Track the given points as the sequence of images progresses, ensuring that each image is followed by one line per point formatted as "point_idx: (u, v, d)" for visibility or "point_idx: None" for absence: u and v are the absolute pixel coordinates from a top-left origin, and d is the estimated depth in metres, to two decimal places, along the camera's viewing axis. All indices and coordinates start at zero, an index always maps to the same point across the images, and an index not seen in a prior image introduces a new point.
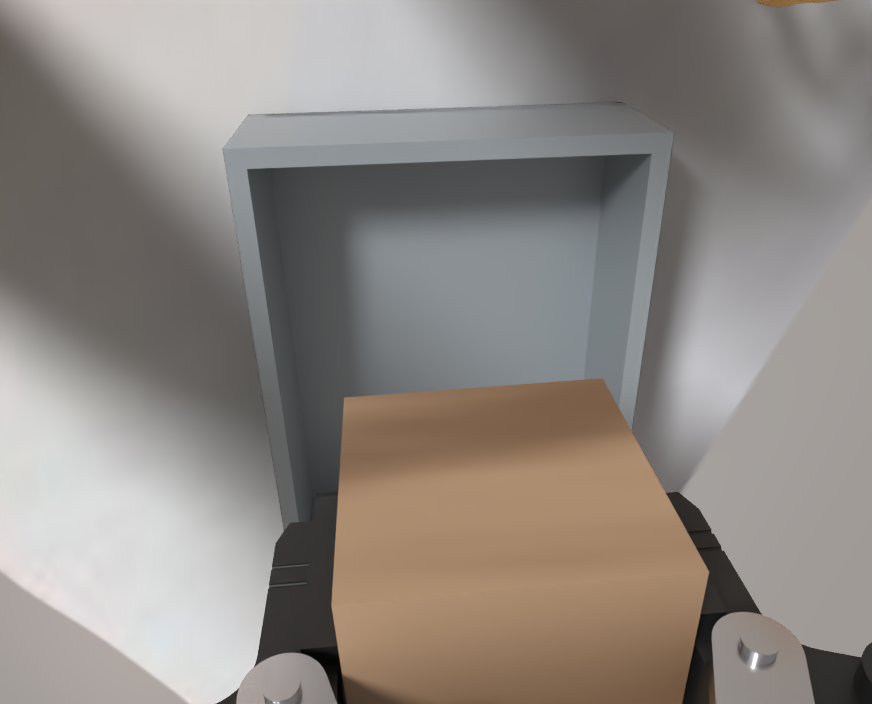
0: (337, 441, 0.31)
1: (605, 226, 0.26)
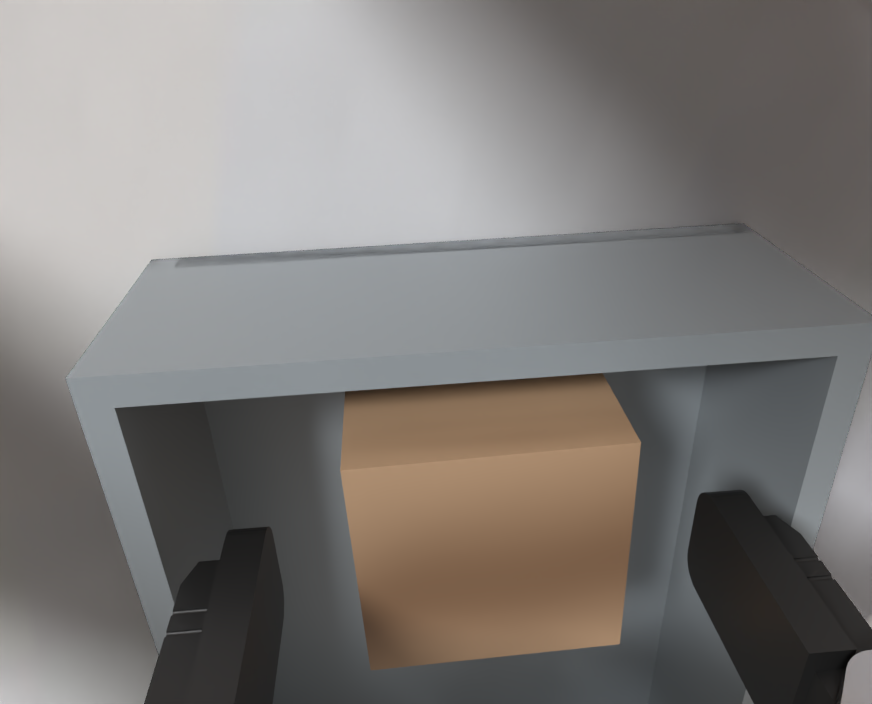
0: (314, 682, 0.22)
1: (715, 411, 0.17)
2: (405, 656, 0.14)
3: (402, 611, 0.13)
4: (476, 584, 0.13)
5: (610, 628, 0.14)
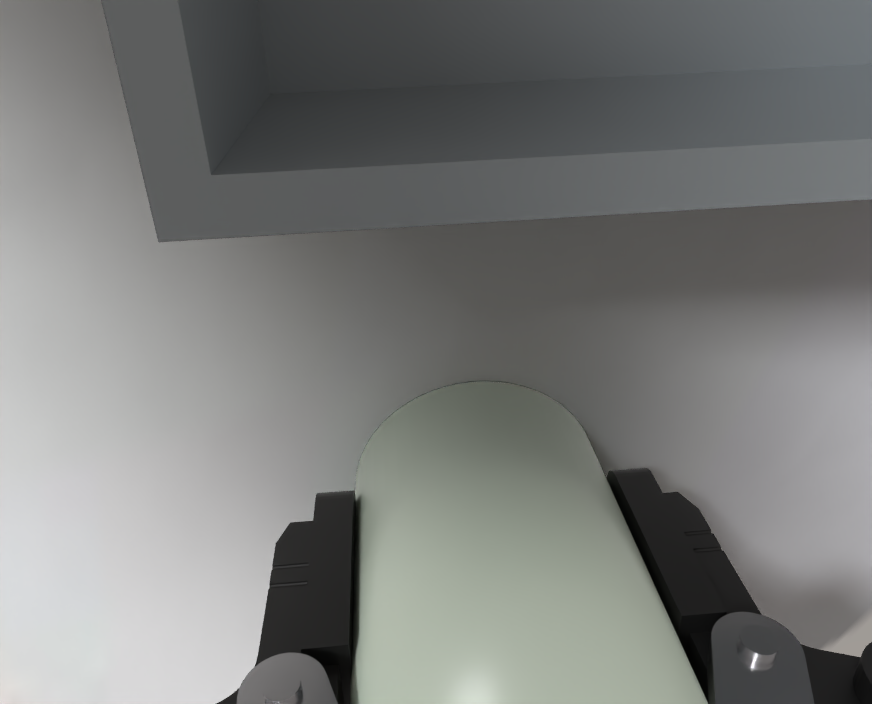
0: None
1: None
2: None
3: None
4: None
5: None
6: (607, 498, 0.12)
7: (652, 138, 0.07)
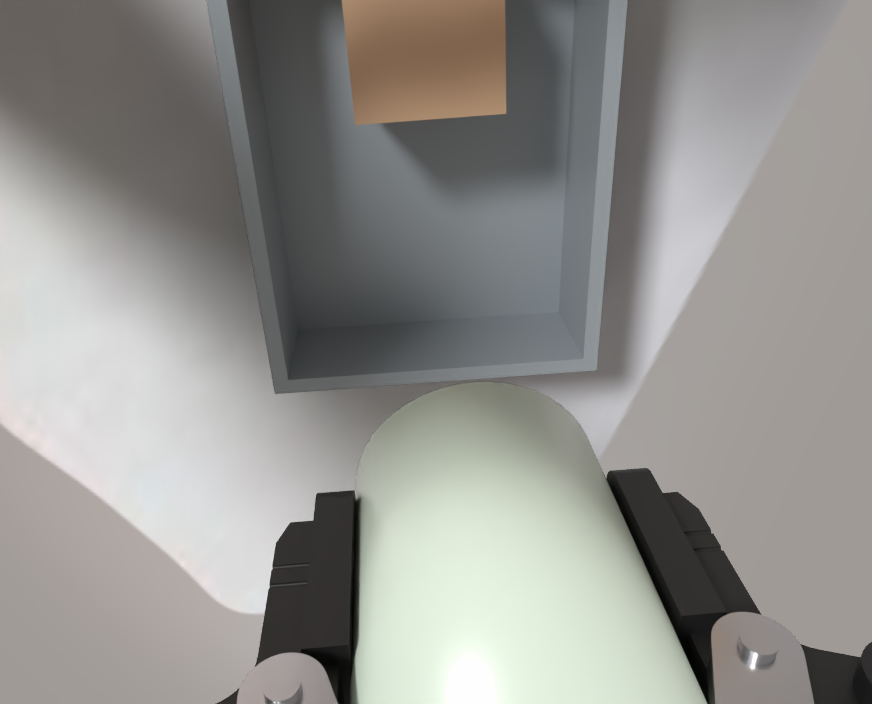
0: (320, 267, 0.31)
1: (579, 16, 0.26)
2: (376, 114, 0.23)
3: (373, 72, 0.23)
4: (416, 52, 0.22)
5: (499, 98, 0.23)
6: (607, 499, 0.12)
7: (393, 366, 0.29)
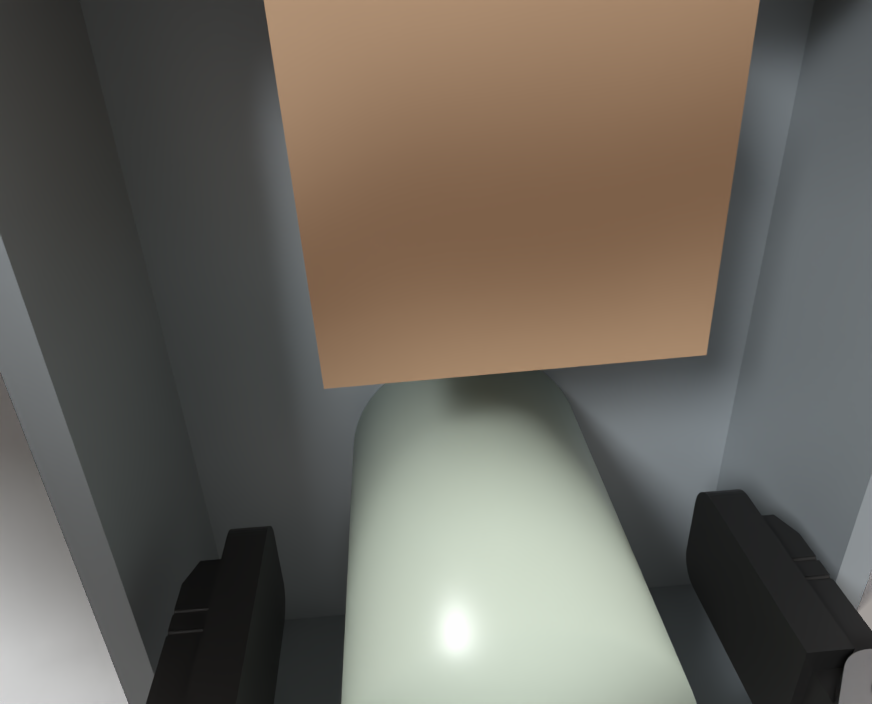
0: None
1: (823, 89, 0.12)
2: (377, 363, 0.09)
3: (370, 270, 0.08)
4: (488, 220, 0.08)
5: (694, 322, 0.09)
6: (583, 454, 0.13)
7: None
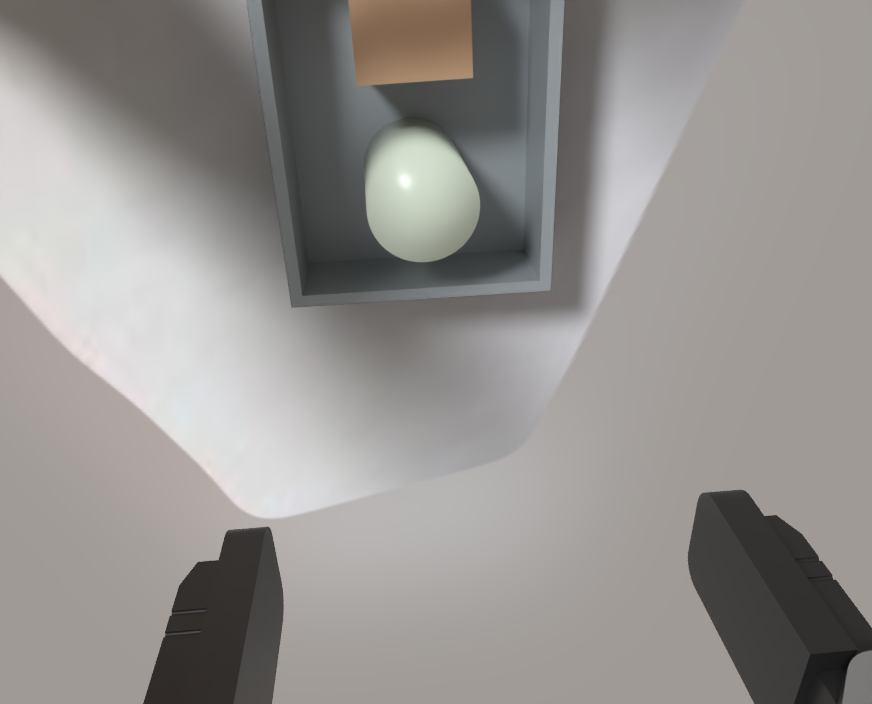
0: (327, 209, 0.38)
1: (533, 4, 0.33)
2: (373, 77, 0.30)
3: (370, 45, 0.30)
4: (403, 29, 0.30)
5: (467, 66, 0.30)
6: (451, 142, 0.34)
7: (387, 286, 0.36)
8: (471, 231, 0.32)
